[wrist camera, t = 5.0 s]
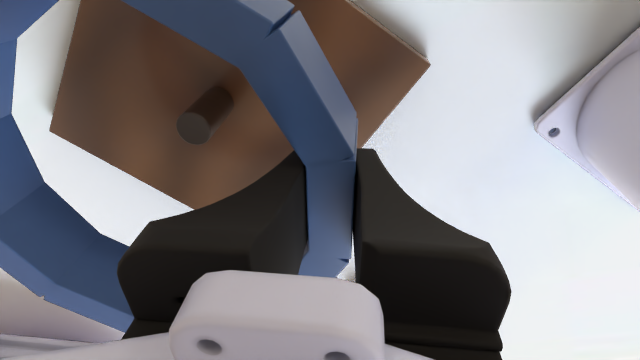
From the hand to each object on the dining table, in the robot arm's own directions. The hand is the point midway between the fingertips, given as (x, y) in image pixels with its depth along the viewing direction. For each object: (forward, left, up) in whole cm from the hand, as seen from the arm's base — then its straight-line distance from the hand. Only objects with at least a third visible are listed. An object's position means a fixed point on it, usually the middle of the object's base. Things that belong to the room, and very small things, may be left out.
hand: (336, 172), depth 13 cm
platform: (+5, +4, -8) cm, 10 cm away
